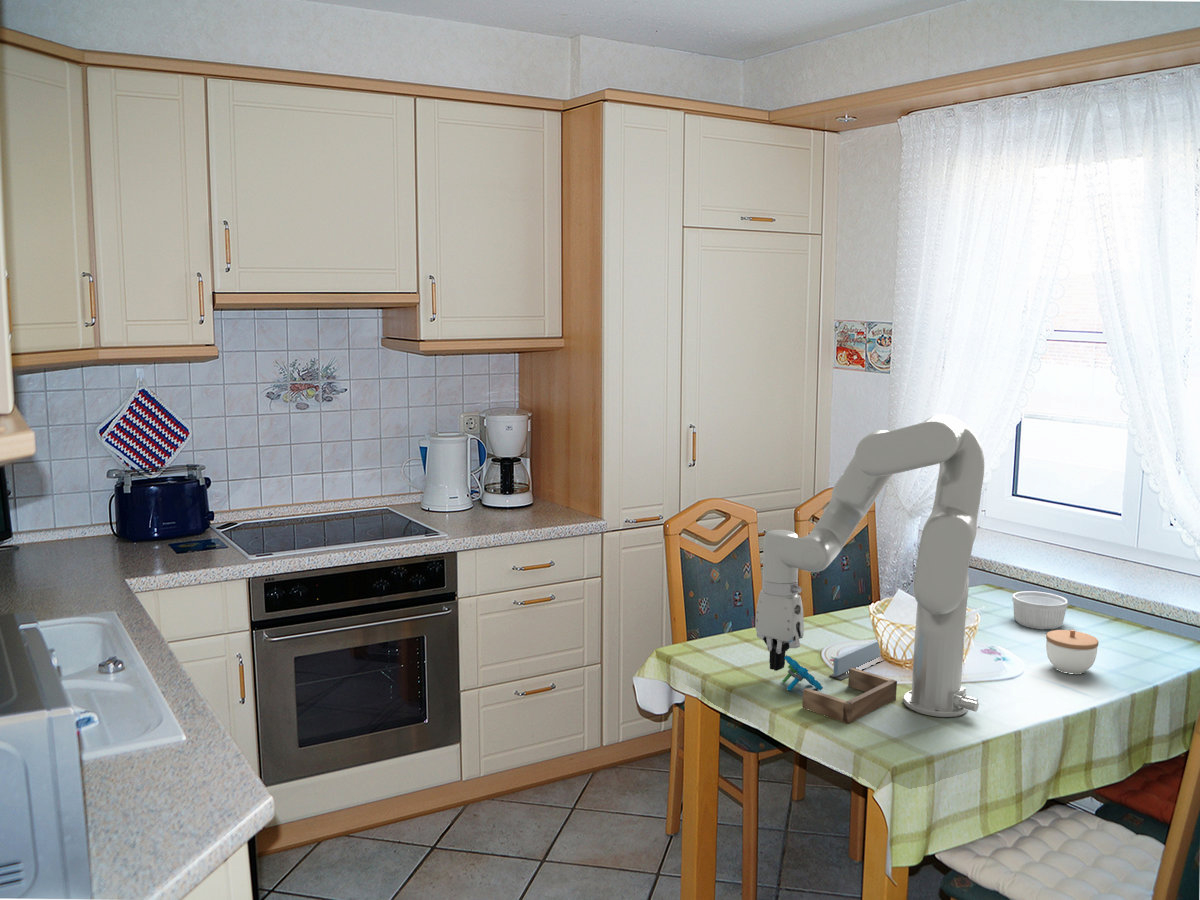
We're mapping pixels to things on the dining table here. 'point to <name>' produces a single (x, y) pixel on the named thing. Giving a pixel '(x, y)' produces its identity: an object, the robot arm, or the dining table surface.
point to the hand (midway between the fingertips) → (776, 668)
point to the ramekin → (1039, 609)
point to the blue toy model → (799, 674)
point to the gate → (856, 657)
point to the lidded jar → (1071, 650)
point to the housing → (874, 697)
